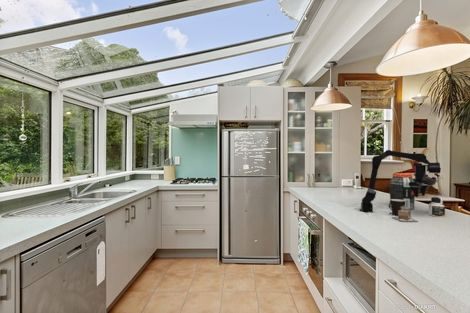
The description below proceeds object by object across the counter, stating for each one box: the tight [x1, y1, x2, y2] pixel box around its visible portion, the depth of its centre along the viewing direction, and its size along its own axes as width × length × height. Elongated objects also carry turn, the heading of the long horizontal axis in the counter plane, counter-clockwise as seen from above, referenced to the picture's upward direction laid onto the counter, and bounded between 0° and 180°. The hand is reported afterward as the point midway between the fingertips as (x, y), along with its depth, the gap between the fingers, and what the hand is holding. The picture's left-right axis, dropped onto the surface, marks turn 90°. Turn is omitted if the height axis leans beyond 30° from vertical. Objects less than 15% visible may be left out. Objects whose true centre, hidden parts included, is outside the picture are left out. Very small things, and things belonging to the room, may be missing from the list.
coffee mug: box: [388, 199, 406, 217], centre depth 178 cm, size 12×9×10 cm
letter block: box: [397, 210, 412, 220], centre depth 165 cm, size 5×5×5 cm
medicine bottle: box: [428, 196, 446, 218], centre depth 177 cm, size 7×7×12 cm
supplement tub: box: [389, 172, 416, 211], centre depth 200 cm, size 16×16×26 cm
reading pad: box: [391, 216, 419, 223], centre depth 165 cm, size 10×10×1 cm
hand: (420, 196), depth 174 cm, fingers open, 9 cm apart
